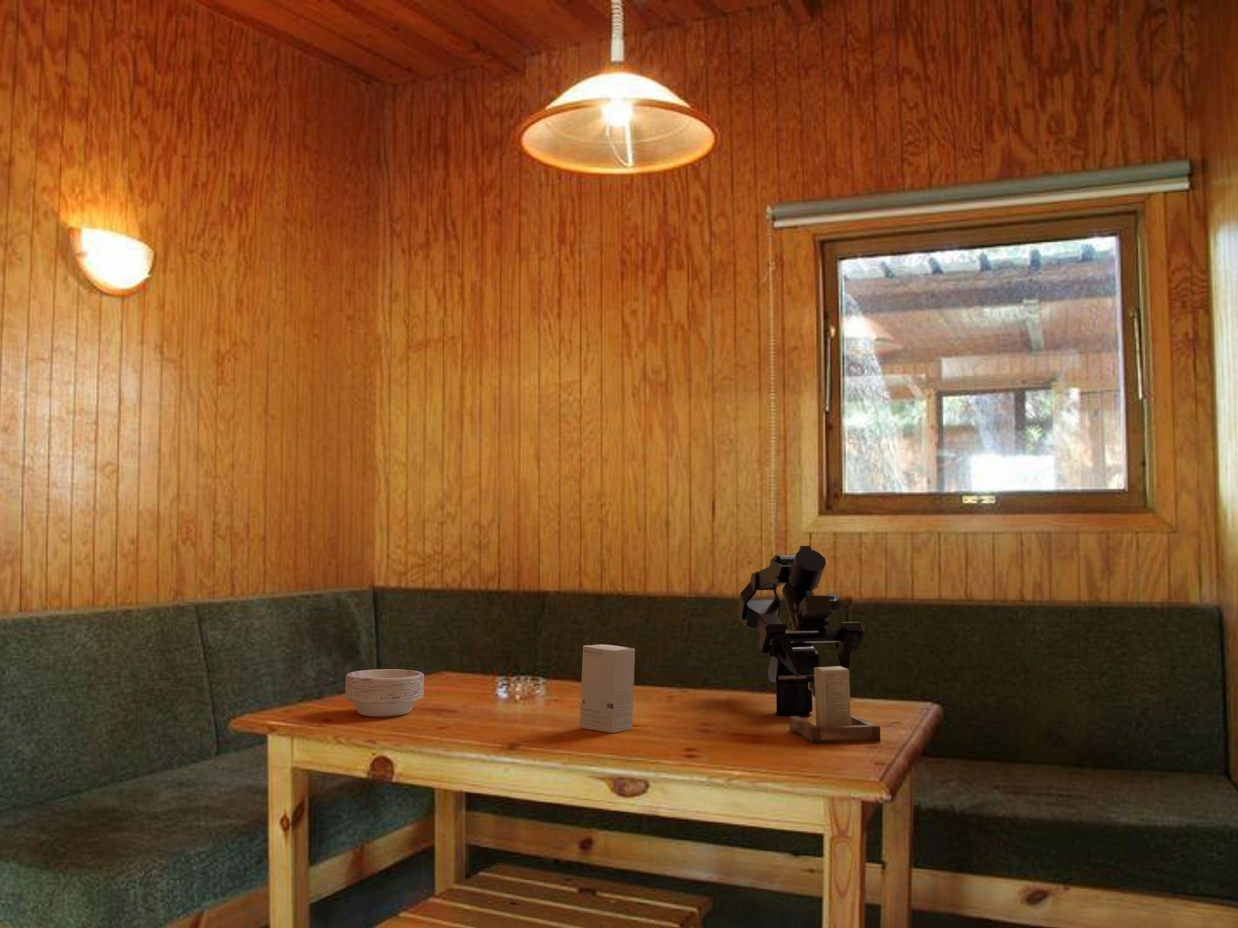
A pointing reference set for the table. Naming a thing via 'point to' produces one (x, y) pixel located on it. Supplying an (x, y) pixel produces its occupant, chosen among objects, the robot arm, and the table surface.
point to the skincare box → (607, 688)
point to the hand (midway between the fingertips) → (823, 674)
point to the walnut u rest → (836, 731)
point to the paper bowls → (384, 691)
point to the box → (832, 696)
